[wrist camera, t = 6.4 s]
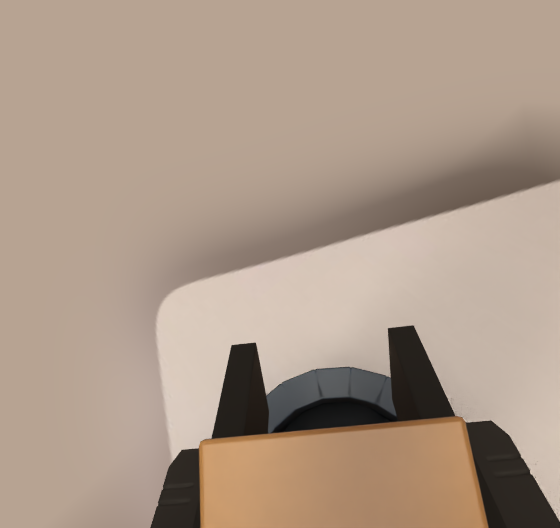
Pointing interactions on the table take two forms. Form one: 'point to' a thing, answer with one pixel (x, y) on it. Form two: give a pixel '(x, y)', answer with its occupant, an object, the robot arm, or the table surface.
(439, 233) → the table surface
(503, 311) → the table surface
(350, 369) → the jar
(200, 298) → the table surface
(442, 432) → the wooden block
